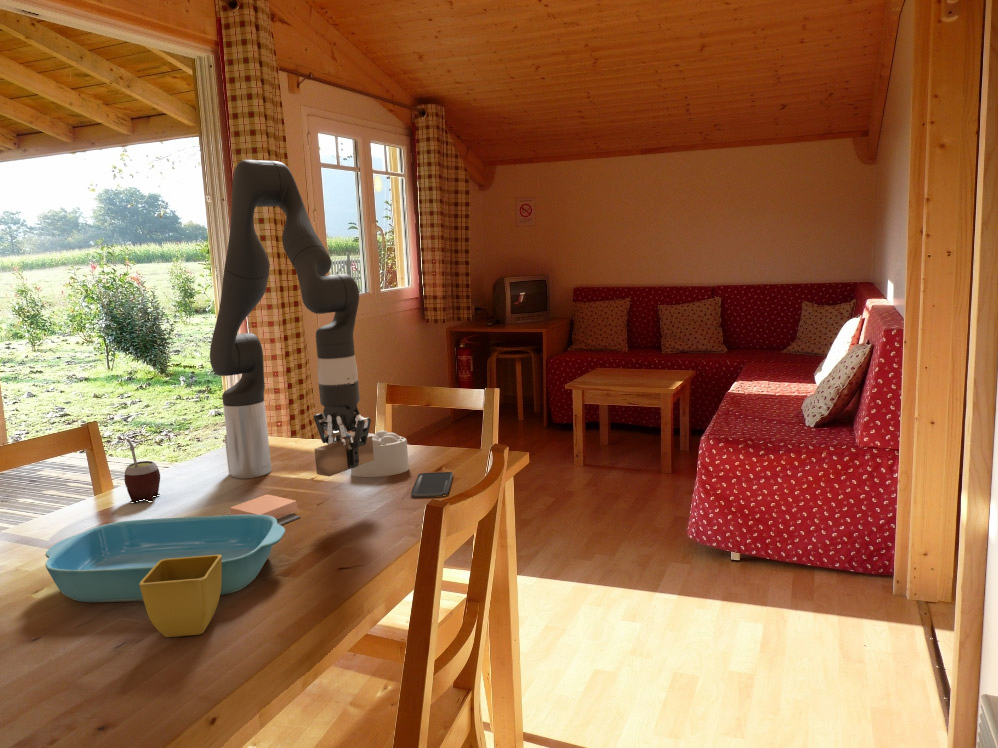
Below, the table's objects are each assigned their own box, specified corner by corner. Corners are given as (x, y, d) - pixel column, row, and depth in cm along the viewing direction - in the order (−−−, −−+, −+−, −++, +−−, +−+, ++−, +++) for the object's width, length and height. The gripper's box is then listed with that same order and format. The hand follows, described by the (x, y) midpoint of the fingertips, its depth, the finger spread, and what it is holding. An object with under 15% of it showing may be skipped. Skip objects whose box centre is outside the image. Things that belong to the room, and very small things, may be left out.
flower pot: (167, 616, 113) (160, 558, 112) (229, 611, 114) (222, 553, 112) (146, 647, 105) (137, 584, 103) (212, 641, 105) (204, 578, 104)
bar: (316, 474, 148) (314, 448, 147) (361, 458, 158) (359, 434, 157) (329, 476, 146) (327, 450, 145) (374, 460, 156) (372, 436, 155)
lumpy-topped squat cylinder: (361, 464, 188) (358, 429, 187) (413, 463, 186) (411, 428, 185) (347, 477, 178) (344, 440, 176) (403, 476, 176) (400, 439, 175)
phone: (410, 494, 161) (419, 472, 175) (410, 499, 161) (419, 477, 176) (448, 493, 160) (453, 471, 175) (448, 498, 161) (454, 476, 175)
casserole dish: (300, 545, 139) (296, 507, 137) (270, 602, 117) (265, 557, 116) (90, 559, 137) (84, 520, 136) (19, 619, 115) (12, 573, 114)
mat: (219, 519, 153) (219, 518, 153) (254, 506, 160) (254, 505, 160) (265, 531, 145) (265, 530, 145) (300, 517, 152) (300, 516, 152)
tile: (268, 504, 160) (231, 518, 153) (267, 494, 159) (230, 507, 152) (297, 511, 155) (260, 526, 148) (296, 500, 154) (259, 514, 147)
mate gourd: (153, 492, 173) (145, 427, 171) (170, 498, 168) (162, 431, 166) (119, 501, 168) (110, 434, 165) (136, 508, 163) (126, 439, 160)
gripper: (298, 380, 150) (306, 466, 153) (350, 385, 142) (358, 476, 145) (327, 374, 156) (334, 457, 159) (378, 378, 148) (385, 465, 151)
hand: (345, 465), depth 152 cm, fingers closed on bar, 3 cm apart
